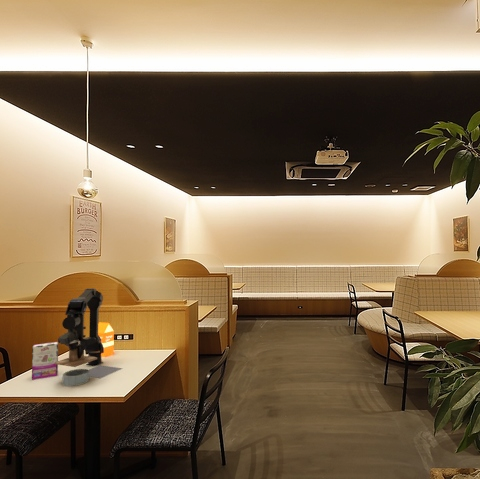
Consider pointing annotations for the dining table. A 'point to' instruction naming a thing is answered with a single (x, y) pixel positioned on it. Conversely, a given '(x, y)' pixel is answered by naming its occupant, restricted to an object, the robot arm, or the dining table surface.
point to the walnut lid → (75, 359)
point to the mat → (102, 371)
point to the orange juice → (106, 338)
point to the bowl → (75, 377)
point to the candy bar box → (44, 360)
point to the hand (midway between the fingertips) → (76, 358)
